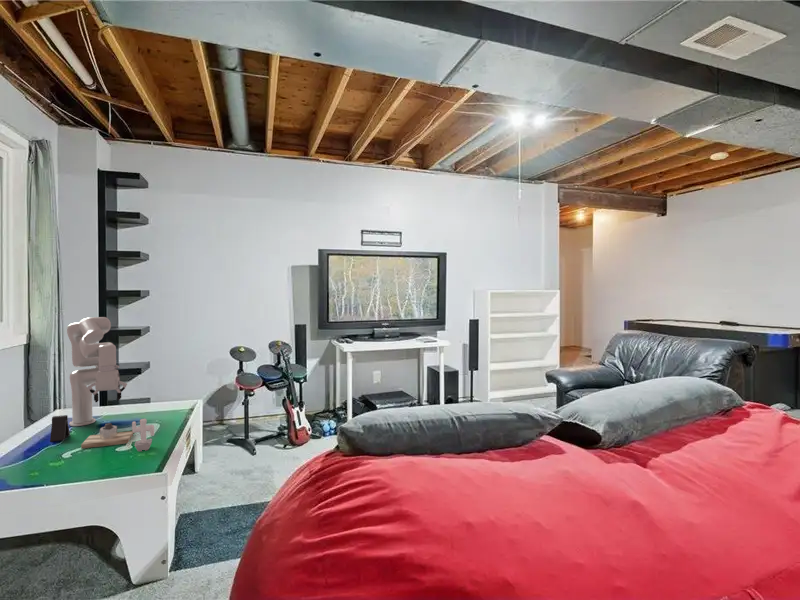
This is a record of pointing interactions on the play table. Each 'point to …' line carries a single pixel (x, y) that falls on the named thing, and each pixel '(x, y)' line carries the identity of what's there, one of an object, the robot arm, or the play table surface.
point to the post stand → (96, 441)
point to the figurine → (143, 435)
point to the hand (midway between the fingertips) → (107, 400)
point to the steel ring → (108, 433)
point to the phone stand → (59, 428)
